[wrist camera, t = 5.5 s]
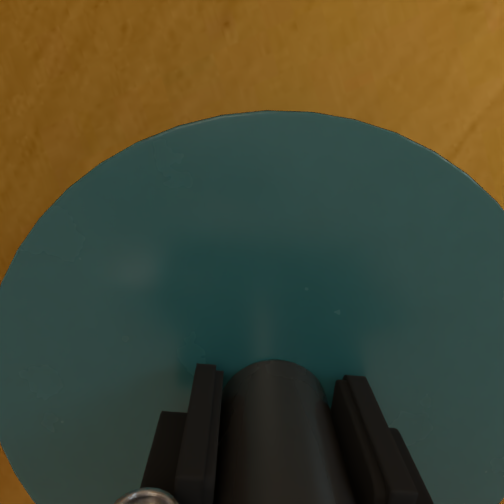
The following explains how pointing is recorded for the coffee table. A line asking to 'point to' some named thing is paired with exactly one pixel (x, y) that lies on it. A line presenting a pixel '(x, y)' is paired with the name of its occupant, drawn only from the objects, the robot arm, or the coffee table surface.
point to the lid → (258, 311)
